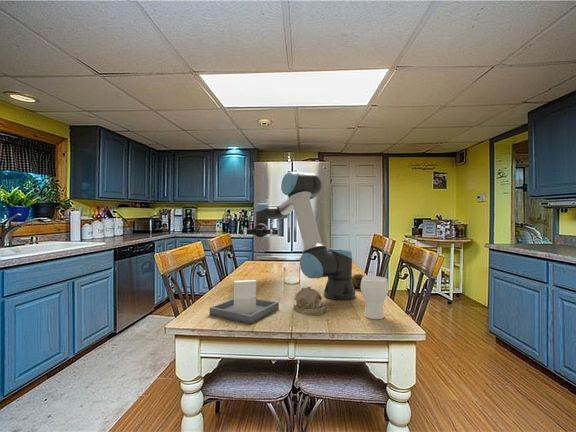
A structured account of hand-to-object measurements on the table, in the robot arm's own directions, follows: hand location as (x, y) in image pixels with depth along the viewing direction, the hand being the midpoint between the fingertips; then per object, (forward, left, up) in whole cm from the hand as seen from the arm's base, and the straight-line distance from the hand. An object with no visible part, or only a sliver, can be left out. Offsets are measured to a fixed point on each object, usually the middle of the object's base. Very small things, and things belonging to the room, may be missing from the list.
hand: (257, 233), depth 160 cm
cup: (-60, +6, -30) cm, 68 cm away
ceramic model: (-35, +12, -30) cm, 48 cm away
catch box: (-13, +28, -30) cm, 43 cm away
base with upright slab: (-13, +28, -29) cm, 43 cm away
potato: (-41, -35, -30) cm, 62 cm away
